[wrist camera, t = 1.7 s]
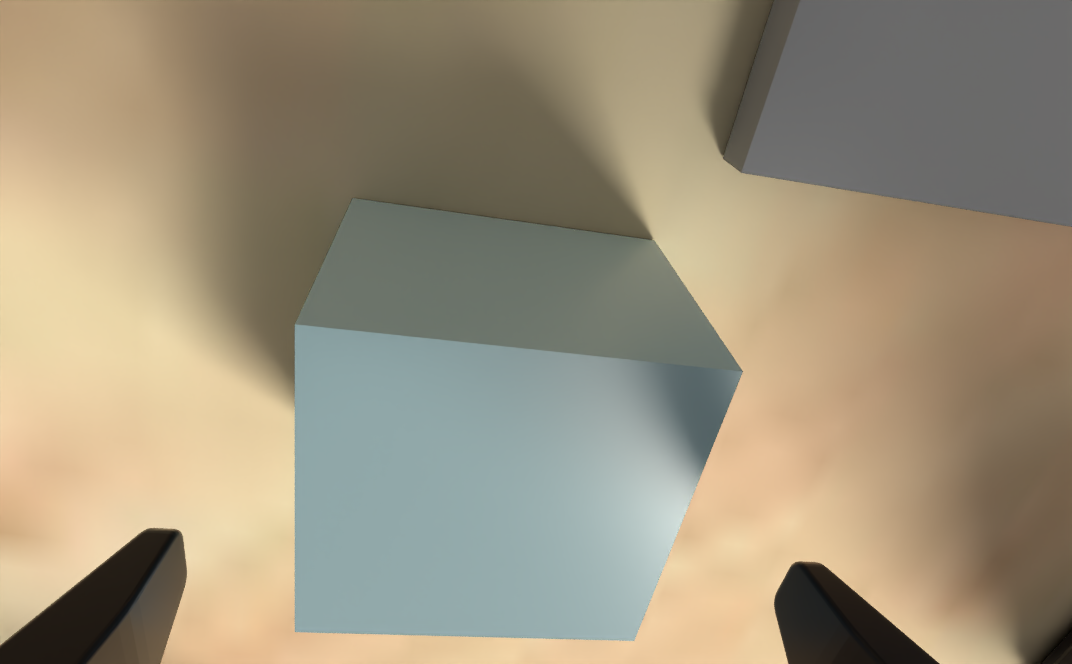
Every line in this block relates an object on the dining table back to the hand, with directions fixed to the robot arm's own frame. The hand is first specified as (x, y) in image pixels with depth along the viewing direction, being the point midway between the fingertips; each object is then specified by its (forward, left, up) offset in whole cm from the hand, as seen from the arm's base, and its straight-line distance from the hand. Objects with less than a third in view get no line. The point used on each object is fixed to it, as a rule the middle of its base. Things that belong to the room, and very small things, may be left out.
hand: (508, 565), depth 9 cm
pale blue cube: (0, 0, -6) cm, 6 cm away
